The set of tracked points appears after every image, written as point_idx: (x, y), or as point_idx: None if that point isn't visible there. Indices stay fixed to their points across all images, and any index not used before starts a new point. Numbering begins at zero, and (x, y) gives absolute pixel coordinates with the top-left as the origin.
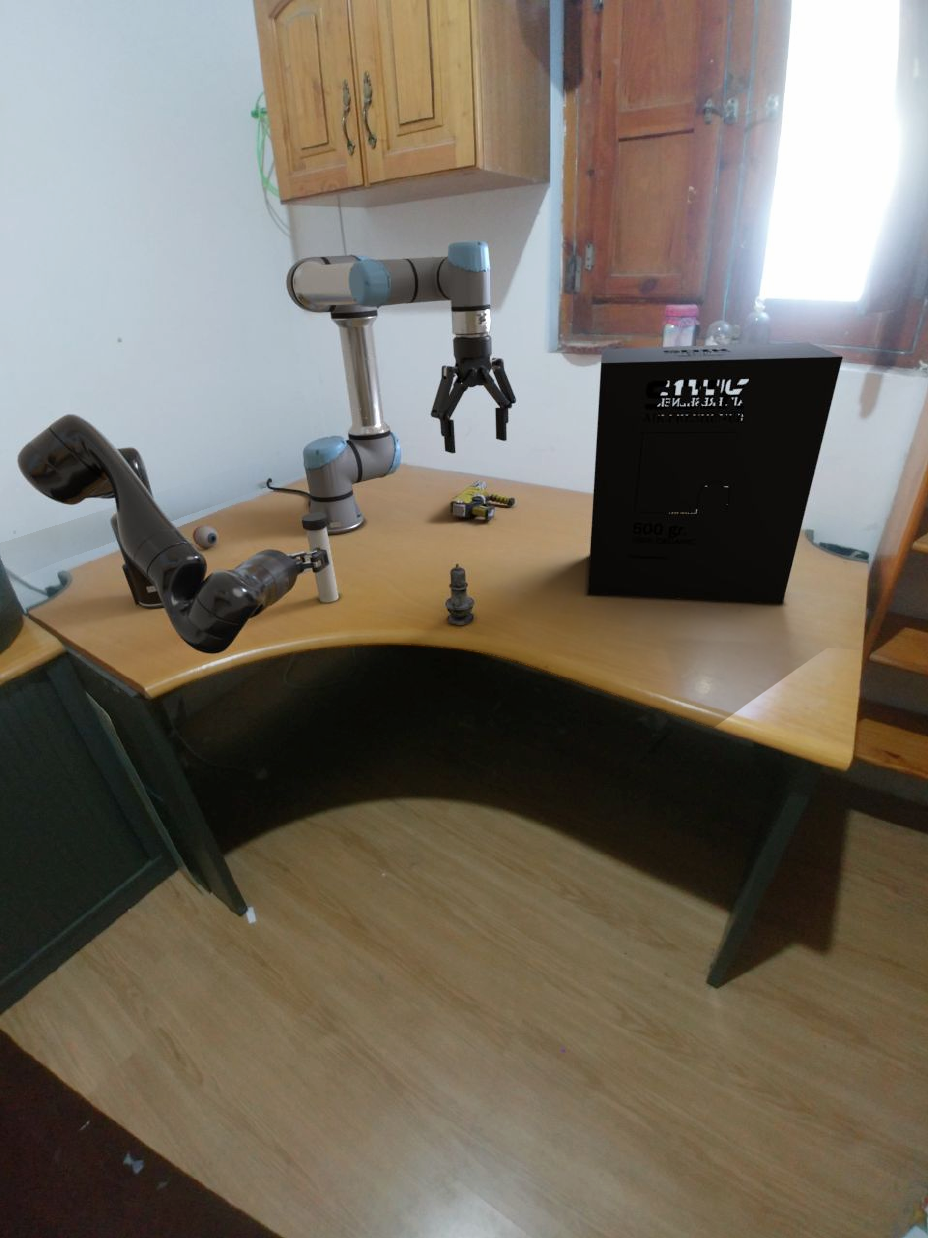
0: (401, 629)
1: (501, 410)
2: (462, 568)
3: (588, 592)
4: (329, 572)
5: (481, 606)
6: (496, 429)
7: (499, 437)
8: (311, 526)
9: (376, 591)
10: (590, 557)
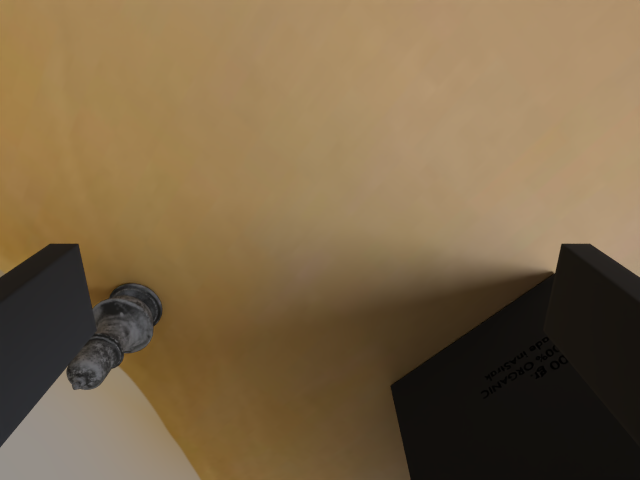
0: (14, 264)
1: None
2: (94, 382)
3: (392, 389)
4: None
5: (198, 293)
6: (605, 286)
7: (562, 291)
8: None
9: (12, 66)
10: (405, 450)
